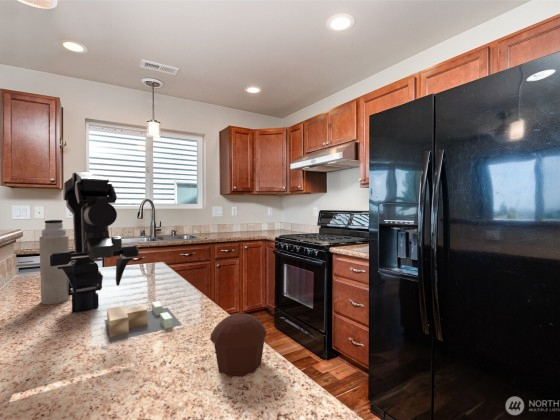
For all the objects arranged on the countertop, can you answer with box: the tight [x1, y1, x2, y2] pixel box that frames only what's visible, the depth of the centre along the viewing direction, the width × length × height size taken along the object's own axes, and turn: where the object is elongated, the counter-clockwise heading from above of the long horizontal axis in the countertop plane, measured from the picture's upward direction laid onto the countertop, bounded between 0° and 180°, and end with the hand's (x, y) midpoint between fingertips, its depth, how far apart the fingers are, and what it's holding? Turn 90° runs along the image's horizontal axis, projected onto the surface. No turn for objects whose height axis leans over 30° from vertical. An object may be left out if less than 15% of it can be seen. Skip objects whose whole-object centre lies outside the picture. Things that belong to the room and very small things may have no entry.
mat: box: [104, 307, 183, 343], centre depth 81 cm, size 17×16×1 cm
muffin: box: [209, 313, 267, 378], centre depth 61 cm, size 12×11×10 cm
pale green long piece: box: [151, 300, 174, 330], centre depth 84 cm, size 2×16×2 cm, turn 34°
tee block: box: [106, 304, 148, 337], centre depth 79 cm, size 9×10×4 cm
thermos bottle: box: [39, 219, 71, 305], centre depth 101 cm, size 8×8×28 cm
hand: (97, 288), depth 74 cm, fingers open, 9 cm apart
